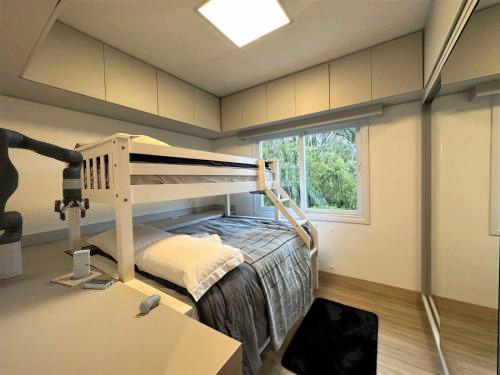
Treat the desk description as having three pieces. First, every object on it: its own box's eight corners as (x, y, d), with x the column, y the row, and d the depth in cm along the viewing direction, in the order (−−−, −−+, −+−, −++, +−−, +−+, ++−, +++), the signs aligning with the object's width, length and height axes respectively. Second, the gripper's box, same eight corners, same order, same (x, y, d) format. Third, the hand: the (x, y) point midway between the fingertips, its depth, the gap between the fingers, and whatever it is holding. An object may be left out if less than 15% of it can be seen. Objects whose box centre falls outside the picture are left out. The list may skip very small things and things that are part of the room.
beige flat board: (50, 281, 97) (50, 279, 97) (82, 270, 109) (81, 269, 109) (72, 286, 91) (72, 285, 91) (102, 274, 103) (102, 273, 103)
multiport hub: (93, 283, 93) (93, 279, 93) (114, 285, 92) (114, 280, 92) (84, 288, 89) (84, 283, 89) (106, 290, 87) (105, 284, 87)
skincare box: (73, 279, 97) (72, 253, 97) (74, 275, 101) (73, 251, 101) (89, 275, 100) (88, 251, 100) (90, 272, 104) (89, 248, 104)
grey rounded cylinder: (153, 304, 77) (164, 301, 76) (136, 316, 69) (147, 314, 68) (150, 292, 77) (161, 290, 76) (133, 304, 70) (144, 301, 68)
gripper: (83, 188, 114) (84, 216, 114) (50, 188, 101) (51, 221, 101) (91, 187, 111) (92, 217, 111) (59, 188, 98) (60, 221, 98)
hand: (73, 219), depth 106 cm, fingers open, 8 cm apart
